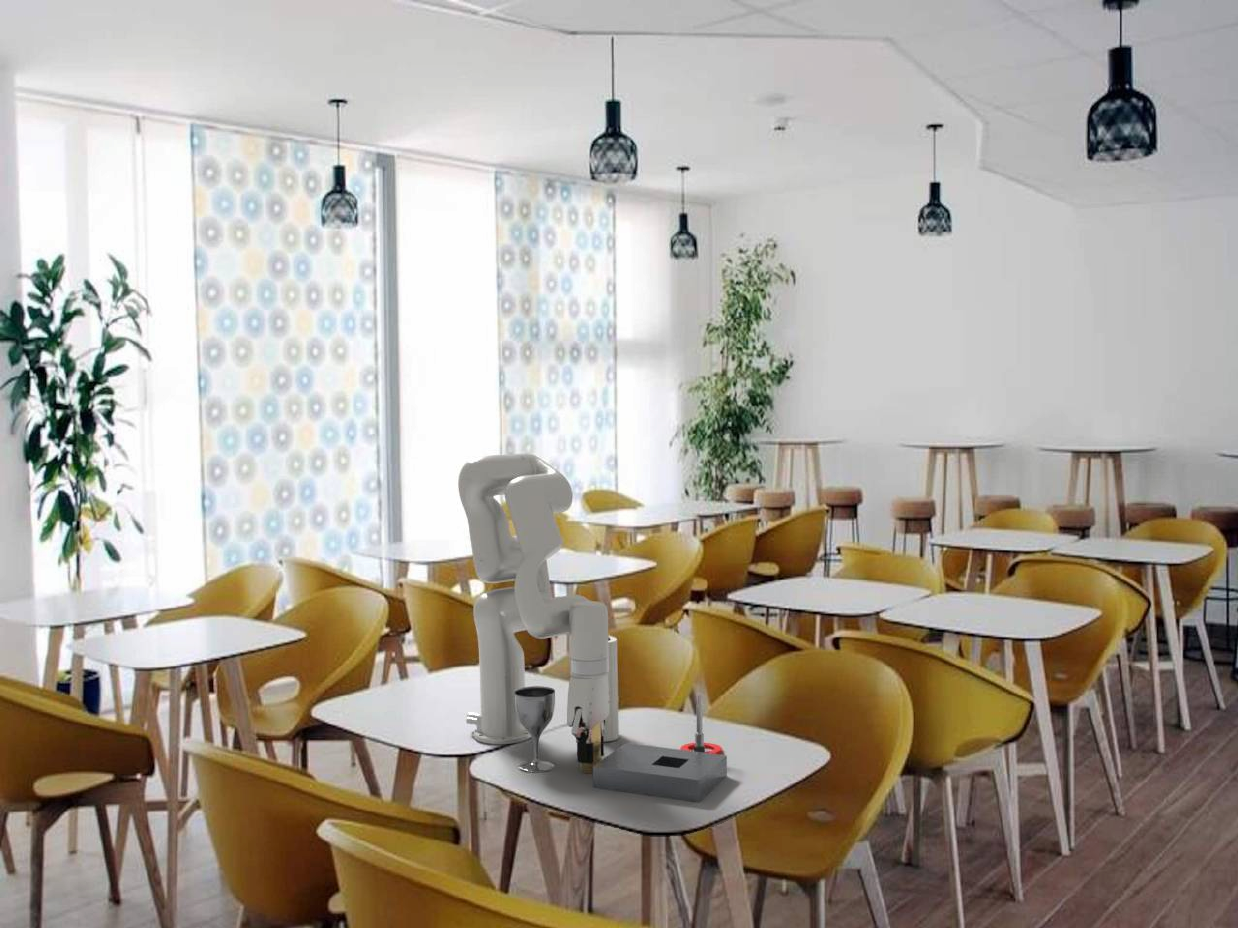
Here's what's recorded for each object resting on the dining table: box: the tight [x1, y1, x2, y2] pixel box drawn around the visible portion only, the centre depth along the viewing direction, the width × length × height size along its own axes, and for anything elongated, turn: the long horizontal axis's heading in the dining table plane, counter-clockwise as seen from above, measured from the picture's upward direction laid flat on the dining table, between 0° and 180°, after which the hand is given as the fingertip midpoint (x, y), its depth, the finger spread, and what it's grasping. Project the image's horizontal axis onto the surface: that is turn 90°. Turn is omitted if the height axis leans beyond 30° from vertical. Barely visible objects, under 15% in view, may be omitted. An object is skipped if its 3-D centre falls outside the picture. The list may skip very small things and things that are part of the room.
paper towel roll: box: [601, 633, 620, 743], centre depth 249 cm, size 7×6×21 cm
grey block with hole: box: [592, 742, 728, 803], centre depth 222 cm, size 21×15×4 cm
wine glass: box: [514, 685, 556, 774], centre depth 231 cm, size 8×8×15 cm
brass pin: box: [580, 723, 602, 774], centre depth 229 cm, size 4×4×11 cm
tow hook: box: [679, 693, 723, 755], centre depth 239 cm, size 8×13×9 cm
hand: (590, 757), depth 229 cm, fingers closed on brass pin, 3 cm apart
